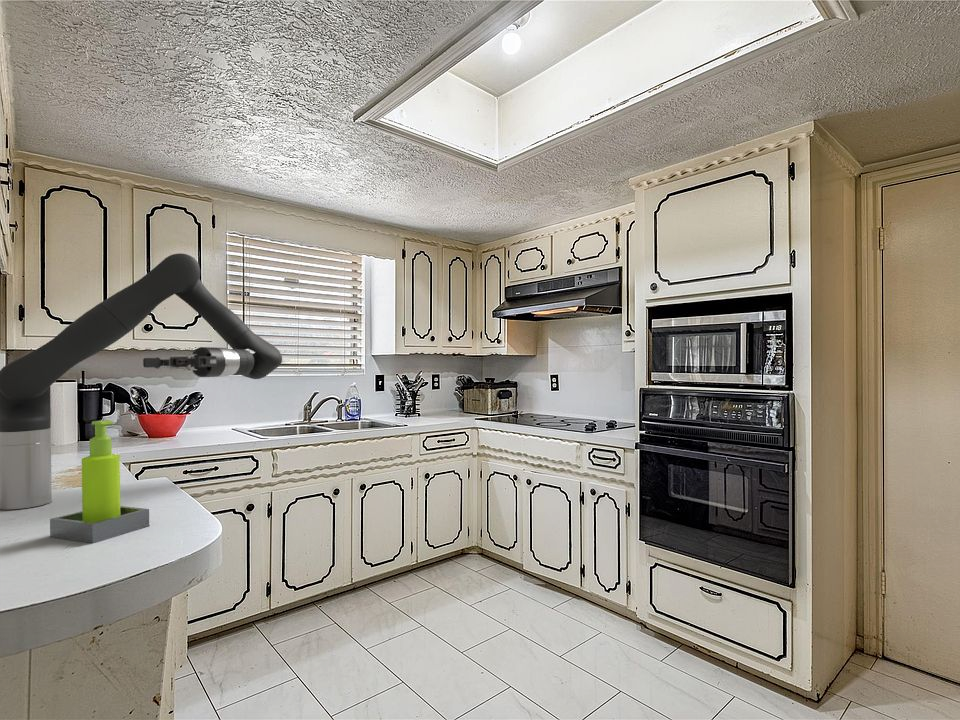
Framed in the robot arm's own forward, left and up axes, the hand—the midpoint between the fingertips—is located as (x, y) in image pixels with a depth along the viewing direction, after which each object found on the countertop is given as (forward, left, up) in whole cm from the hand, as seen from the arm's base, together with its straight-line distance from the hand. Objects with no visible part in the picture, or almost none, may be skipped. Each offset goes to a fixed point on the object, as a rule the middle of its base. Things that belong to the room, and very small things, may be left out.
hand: (157, 362), depth 123 cm
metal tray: (+9, -19, -32) cm, 38 cm away
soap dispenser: (+9, -19, -31) cm, 38 cm away
